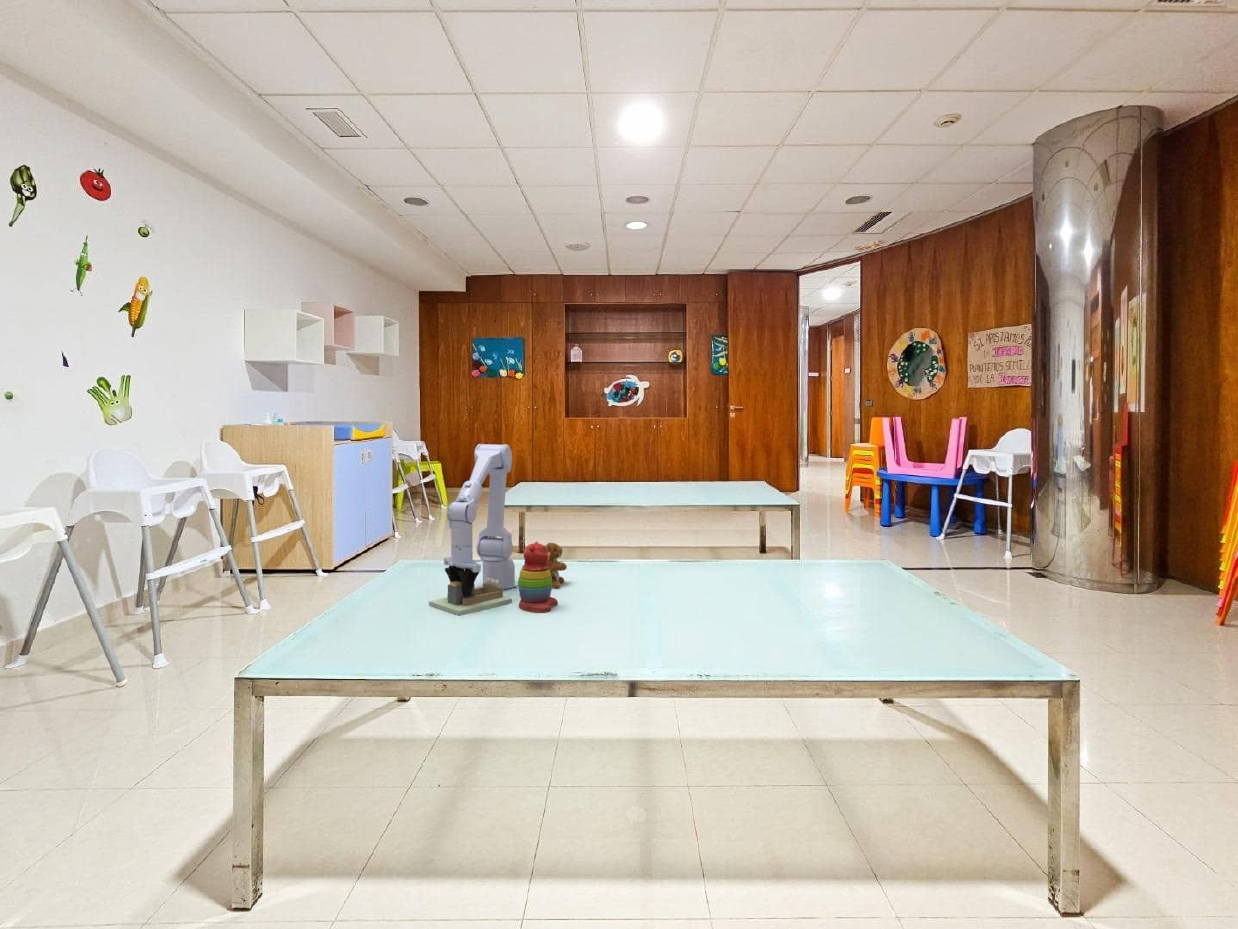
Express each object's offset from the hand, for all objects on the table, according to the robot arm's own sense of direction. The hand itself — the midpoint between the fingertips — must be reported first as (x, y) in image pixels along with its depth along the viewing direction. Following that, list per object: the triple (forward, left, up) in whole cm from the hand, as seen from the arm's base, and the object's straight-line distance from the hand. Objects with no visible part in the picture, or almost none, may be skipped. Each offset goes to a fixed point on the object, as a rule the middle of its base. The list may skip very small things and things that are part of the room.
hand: (462, 594), depth 193 cm
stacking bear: (-14, +15, -4) cm, 21 cm away
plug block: (0, 0, -2) cm, 2 cm away
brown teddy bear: (-33, -3, -4) cm, 34 cm away
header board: (-3, 0, -3) cm, 5 cm away
